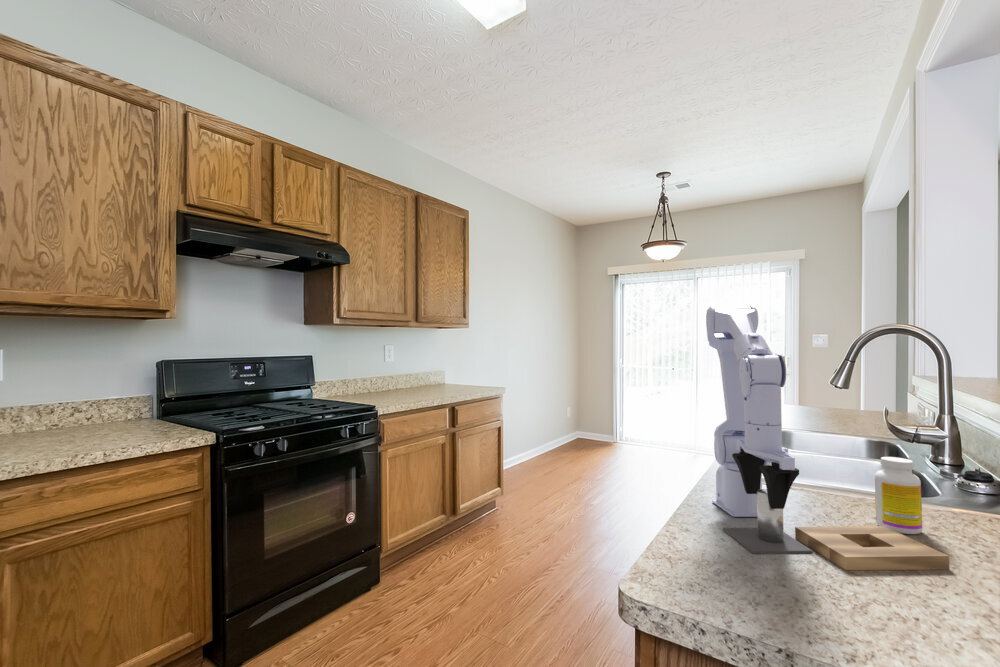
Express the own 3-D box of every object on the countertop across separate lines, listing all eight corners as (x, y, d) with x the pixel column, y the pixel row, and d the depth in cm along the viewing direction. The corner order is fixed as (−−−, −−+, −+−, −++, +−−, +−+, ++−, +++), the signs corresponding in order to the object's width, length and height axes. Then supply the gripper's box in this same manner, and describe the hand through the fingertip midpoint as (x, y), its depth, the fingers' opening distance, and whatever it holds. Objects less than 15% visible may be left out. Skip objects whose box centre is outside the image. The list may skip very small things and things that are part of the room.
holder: (795, 538, 84) (795, 526, 84) (884, 537, 84) (884, 526, 84) (845, 570, 72) (845, 556, 72) (949, 569, 72) (949, 555, 72)
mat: (722, 529, 88) (722, 527, 88) (776, 529, 88) (776, 527, 88) (752, 553, 78) (752, 551, 78) (812, 553, 78) (812, 550, 78)
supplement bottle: (931, 537, 84) (929, 464, 84) (889, 534, 85) (887, 462, 86) (907, 523, 91) (905, 456, 91) (868, 520, 92) (866, 454, 92)
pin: (753, 533, 85) (752, 488, 85) (777, 534, 84) (776, 489, 85) (763, 542, 81) (762, 495, 81) (788, 543, 80) (787, 496, 81)
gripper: (812, 430, 76) (814, 515, 76) (762, 416, 91) (763, 487, 90) (769, 430, 76) (771, 515, 76) (725, 416, 90) (726, 487, 90)
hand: (764, 500), depth 83 cm, fingers open, 7 cm apart
